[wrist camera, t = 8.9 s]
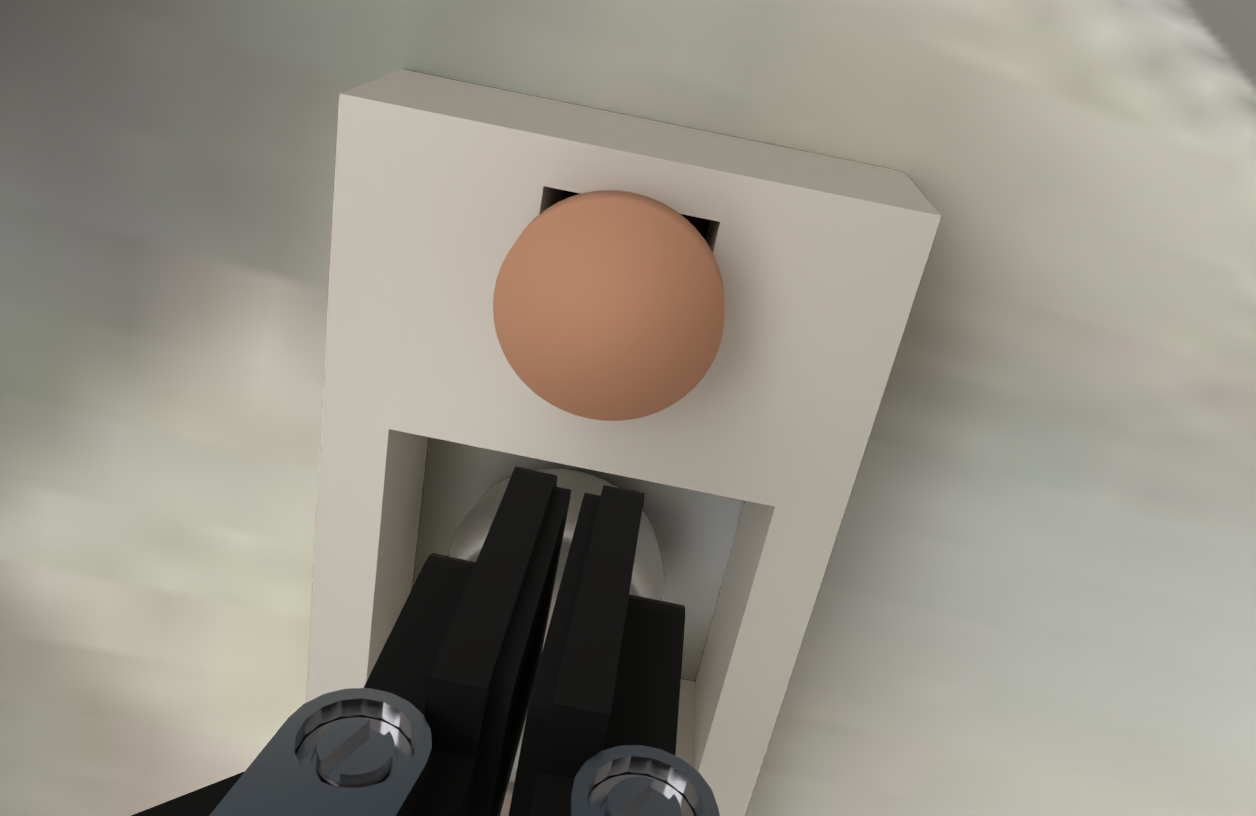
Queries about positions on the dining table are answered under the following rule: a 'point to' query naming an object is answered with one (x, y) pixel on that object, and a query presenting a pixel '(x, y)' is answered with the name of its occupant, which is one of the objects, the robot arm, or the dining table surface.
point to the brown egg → (610, 306)
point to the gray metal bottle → (646, 561)
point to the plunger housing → (639, 448)
